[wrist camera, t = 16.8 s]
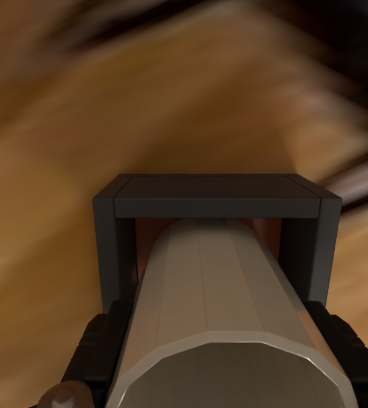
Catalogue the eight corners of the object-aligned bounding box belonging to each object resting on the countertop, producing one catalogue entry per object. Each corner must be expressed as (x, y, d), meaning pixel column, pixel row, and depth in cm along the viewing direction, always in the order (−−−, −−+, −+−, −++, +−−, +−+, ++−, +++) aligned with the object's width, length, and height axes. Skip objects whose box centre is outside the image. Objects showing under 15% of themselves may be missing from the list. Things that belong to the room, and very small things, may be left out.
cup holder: (136, 426, 20) (121, 512, 16) (118, 173, 15) (91, 198, 11) (270, 427, 20) (293, 514, 16) (298, 173, 15) (343, 197, 11)
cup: (148, 323, 16) (112, 520, 8) (143, 212, 14) (90, 331, 6) (265, 323, 16) (340, 522, 8) (275, 212, 14) (383, 332, 6)
